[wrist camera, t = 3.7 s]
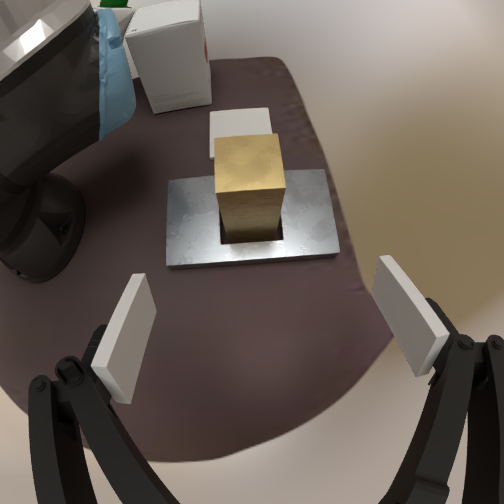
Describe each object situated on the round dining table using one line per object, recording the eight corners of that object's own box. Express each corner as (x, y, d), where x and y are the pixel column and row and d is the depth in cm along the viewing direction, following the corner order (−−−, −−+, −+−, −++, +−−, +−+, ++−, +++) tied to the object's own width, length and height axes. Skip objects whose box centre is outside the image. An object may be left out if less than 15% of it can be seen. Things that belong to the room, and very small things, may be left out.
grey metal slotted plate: (171, 269, 31) (166, 265, 29) (172, 188, 33) (168, 180, 31) (334, 257, 31) (339, 252, 29) (320, 177, 34) (324, 169, 32)
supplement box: (213, 105, 37) (199, 19, 23) (153, 115, 37) (121, 37, 22) (211, 69, 40) (201, -6, 25) (158, 79, 39) (135, 8, 25)
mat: (210, 160, 34) (209, 157, 34) (210, 114, 37) (210, 111, 36) (274, 155, 35) (274, 152, 34) (267, 110, 37) (268, 107, 36)
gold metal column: (228, 243, 32) (215, 192, 20) (226, 201, 33) (214, 137, 21) (274, 239, 32) (286, 187, 20) (270, 198, 33) (277, 133, 21)
